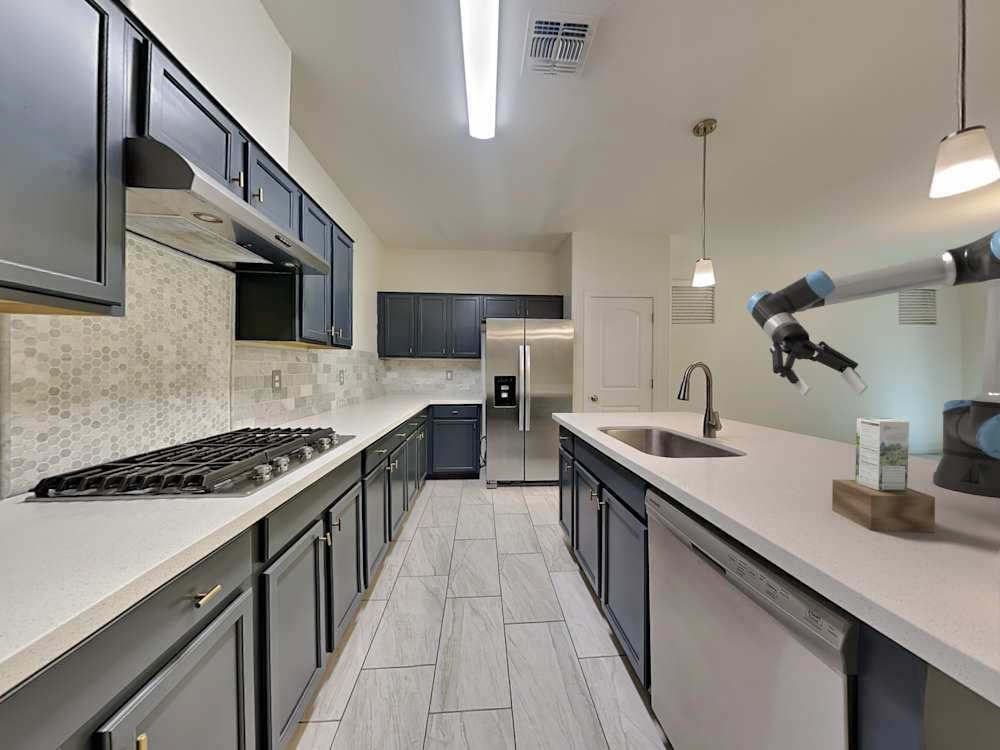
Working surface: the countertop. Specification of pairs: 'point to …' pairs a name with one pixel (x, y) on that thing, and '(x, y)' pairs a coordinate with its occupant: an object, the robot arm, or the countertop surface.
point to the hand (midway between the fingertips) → (835, 391)
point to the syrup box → (882, 453)
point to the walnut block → (884, 507)
